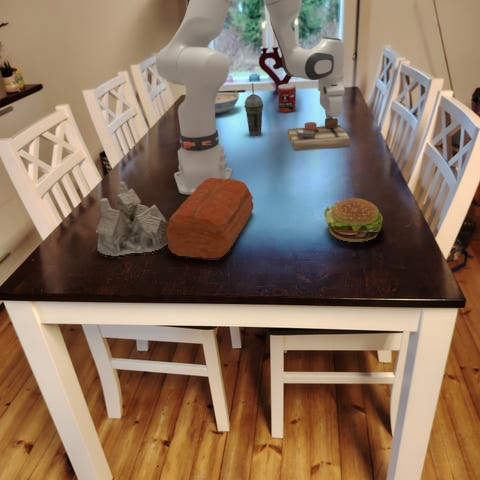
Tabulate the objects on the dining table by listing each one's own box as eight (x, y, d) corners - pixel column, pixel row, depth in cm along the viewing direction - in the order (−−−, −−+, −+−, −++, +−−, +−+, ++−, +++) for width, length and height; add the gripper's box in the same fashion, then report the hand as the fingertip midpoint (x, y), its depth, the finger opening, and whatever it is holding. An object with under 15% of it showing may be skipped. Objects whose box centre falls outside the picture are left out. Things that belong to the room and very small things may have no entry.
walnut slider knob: (337, 127, 173) (337, 119, 172) (325, 128, 173) (326, 120, 172) (336, 125, 175) (336, 118, 173) (324, 126, 175) (325, 119, 173)
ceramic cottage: (89, 247, 115) (78, 192, 107) (143, 223, 125) (137, 172, 117) (125, 272, 106) (117, 214, 98) (180, 245, 116) (177, 191, 108)
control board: (349, 146, 165) (350, 136, 163) (293, 150, 165) (293, 141, 163) (339, 132, 179) (339, 123, 177) (287, 136, 179) (287, 127, 177)
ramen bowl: (182, 119, 209) (180, 100, 205) (198, 105, 228) (196, 88, 224) (236, 119, 203) (235, 100, 199) (248, 105, 222) (247, 88, 218)
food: (328, 215, 122) (329, 188, 117) (384, 222, 117) (387, 193, 113) (316, 242, 111) (317, 212, 107) (377, 250, 106) (380, 219, 102)
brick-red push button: (317, 131, 171) (317, 125, 170) (305, 132, 171) (305, 126, 170) (315, 128, 175) (315, 121, 174) (303, 128, 175) (303, 122, 174)
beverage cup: (265, 131, 186) (263, 80, 176) (264, 137, 180) (261, 84, 170) (246, 132, 187) (243, 80, 177) (245, 138, 181) (242, 85, 170)
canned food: (276, 113, 208) (276, 87, 202) (280, 108, 214) (280, 83, 209) (293, 113, 206) (293, 88, 200) (297, 108, 212) (297, 83, 207)
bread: (257, 210, 127) (255, 174, 121) (226, 264, 105) (222, 223, 100) (204, 206, 131) (200, 171, 126) (164, 257, 110) (157, 217, 104)
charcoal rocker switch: (314, 137, 165) (315, 133, 165) (298, 136, 165) (298, 132, 164) (312, 133, 169) (313, 130, 168) (296, 132, 168) (296, 129, 168)
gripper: (316, 79, 178) (315, 115, 185) (327, 91, 160) (326, 131, 167) (332, 78, 178) (331, 114, 185) (346, 90, 160) (344, 129, 167)
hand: (329, 122), depth 176 cm, fingers closed
